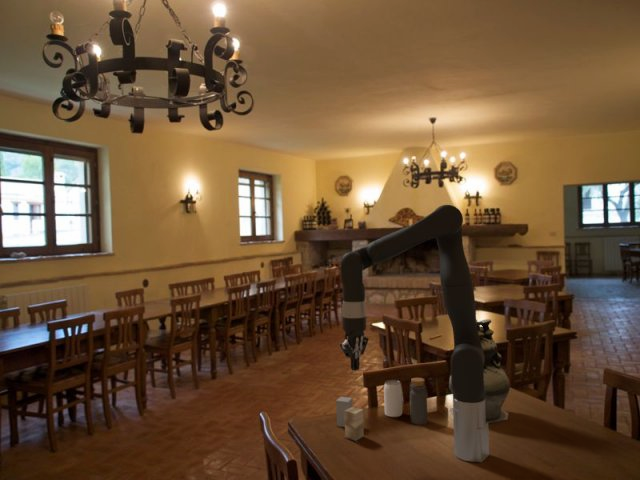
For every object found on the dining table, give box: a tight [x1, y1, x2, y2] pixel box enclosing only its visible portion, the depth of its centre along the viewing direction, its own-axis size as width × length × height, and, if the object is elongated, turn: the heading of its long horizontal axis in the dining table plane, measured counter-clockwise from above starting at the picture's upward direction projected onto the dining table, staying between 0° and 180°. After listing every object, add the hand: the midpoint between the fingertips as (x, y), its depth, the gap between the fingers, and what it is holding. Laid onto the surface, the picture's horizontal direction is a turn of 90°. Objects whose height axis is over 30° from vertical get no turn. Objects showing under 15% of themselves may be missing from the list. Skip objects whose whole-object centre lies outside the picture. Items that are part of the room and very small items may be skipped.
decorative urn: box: [448, 318, 511, 424], centre depth 180 cm, size 21×21×35 cm
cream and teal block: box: [344, 406, 365, 442], centre depth 164 cm, size 4×4×9 cm
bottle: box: [409, 377, 428, 426], centre depth 176 cm, size 6×6×15 cm
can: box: [383, 379, 403, 418], centre depth 184 cm, size 6×6×12 cm
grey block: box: [335, 396, 354, 428], centre depth 175 cm, size 4×4×9 cm
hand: (355, 369), depth 157 cm, fingers closed
